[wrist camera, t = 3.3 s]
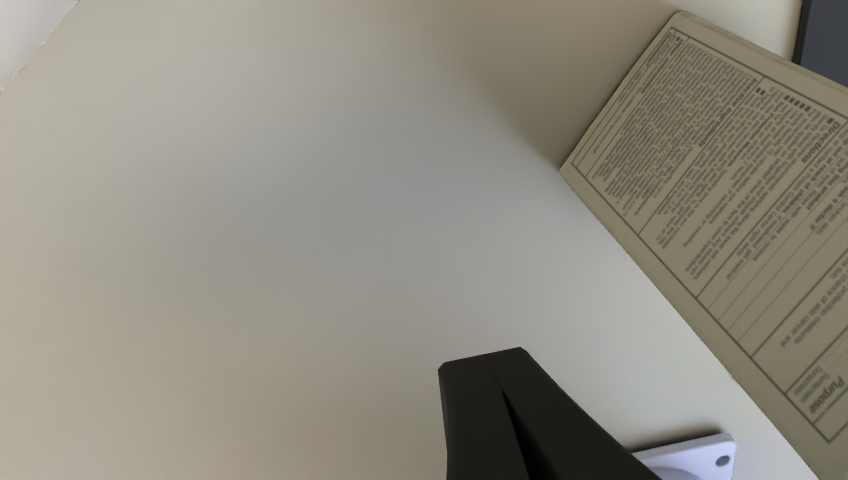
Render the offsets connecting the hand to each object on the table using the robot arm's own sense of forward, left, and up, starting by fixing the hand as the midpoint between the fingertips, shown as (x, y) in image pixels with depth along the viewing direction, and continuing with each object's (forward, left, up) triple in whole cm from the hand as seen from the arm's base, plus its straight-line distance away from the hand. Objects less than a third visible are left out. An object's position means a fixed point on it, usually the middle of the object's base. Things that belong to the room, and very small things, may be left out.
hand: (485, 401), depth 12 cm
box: (0, -7, -9) cm, 11 cm away
